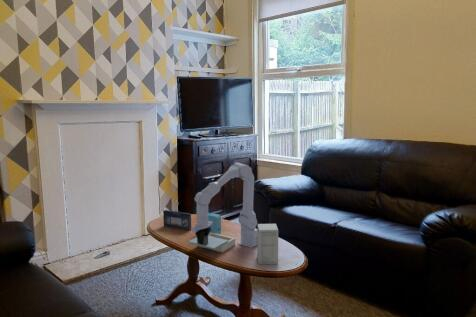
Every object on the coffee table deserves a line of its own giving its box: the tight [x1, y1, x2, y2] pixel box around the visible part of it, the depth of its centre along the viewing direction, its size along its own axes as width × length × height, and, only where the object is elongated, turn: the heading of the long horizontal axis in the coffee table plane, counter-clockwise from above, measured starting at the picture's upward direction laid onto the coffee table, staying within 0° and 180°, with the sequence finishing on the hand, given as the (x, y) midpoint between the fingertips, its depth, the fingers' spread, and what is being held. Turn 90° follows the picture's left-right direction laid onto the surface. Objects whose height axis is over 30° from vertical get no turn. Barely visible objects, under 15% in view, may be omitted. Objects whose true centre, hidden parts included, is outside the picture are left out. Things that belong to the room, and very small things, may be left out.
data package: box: [208, 212, 222, 235], centre depth 214 cm, size 12×4×12 cm, turn 63°
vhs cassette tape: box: [162, 209, 192, 232], centre depth 225 cm, size 18×3×10 cm, turn 64°
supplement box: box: [256, 223, 279, 265], centre depth 180 cm, size 10×9×17 cm
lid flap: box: [187, 235, 228, 251], centre depth 191 cm, size 16×12×5 cm
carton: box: [196, 233, 236, 254], centre depth 198 cm, size 16×12×4 cm
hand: (202, 242), depth 188 cm, fingers closed on lid flap, 2 cm apart
